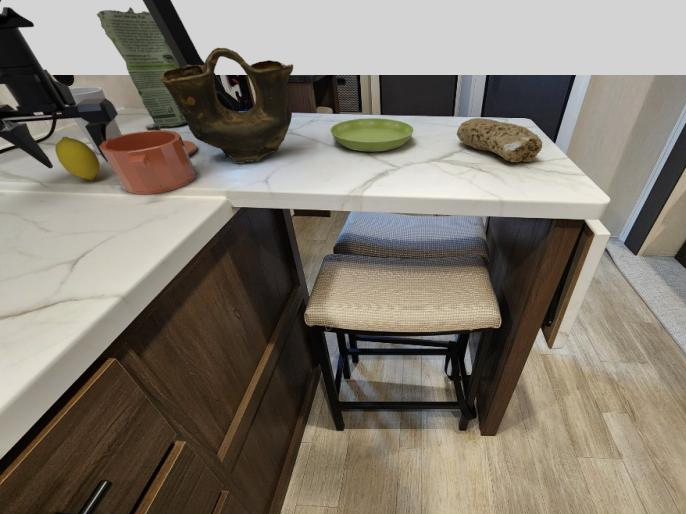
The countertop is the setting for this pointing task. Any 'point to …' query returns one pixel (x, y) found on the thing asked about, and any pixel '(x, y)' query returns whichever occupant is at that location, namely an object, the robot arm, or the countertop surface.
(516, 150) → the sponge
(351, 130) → the saucer
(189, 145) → the lid
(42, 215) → the countertop surface
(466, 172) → the countertop surface
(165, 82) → the pottery vessel
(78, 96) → the cup
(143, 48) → the pouch
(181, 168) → the pot
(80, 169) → the lemon
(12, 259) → the countertop surface
